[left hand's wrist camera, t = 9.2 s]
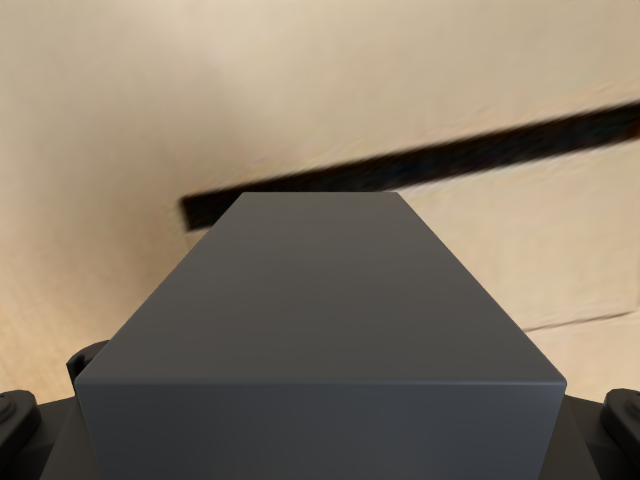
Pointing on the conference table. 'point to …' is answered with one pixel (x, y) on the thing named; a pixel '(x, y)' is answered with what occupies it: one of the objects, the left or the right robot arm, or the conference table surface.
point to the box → (320, 357)
